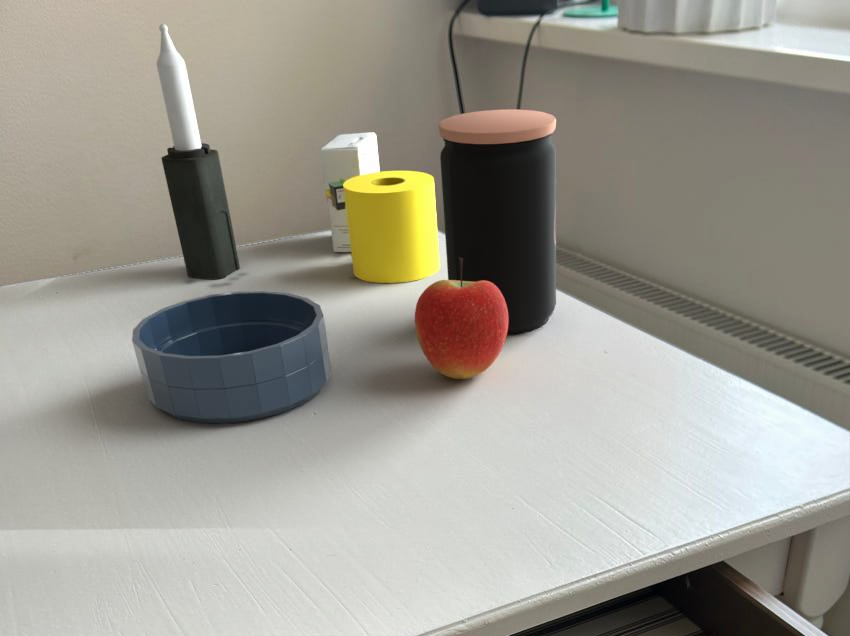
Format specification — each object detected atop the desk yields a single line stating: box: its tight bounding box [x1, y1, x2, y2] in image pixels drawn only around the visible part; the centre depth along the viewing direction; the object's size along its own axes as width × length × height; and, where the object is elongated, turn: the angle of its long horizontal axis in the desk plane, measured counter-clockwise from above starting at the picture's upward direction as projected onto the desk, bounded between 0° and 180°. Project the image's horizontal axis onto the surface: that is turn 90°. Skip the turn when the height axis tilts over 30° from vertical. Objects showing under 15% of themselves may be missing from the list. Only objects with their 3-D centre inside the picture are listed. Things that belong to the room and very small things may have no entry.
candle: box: [156, 23, 241, 280], centre depth 108 cm, size 5×5×25 cm
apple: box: [414, 257, 508, 380], centre depth 85 cm, size 8×8×10 cm
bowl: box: [131, 290, 333, 424], centre depth 86 cm, size 16×16×6 cm
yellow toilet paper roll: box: [343, 170, 441, 284], centre depth 110 cm, size 10×10×9 cm
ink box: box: [320, 131, 381, 253], centre depth 119 cm, size 8×5×12 cm, turn 171°
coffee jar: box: [437, 108, 557, 336], centre depth 94 cm, size 11×11×18 cm
